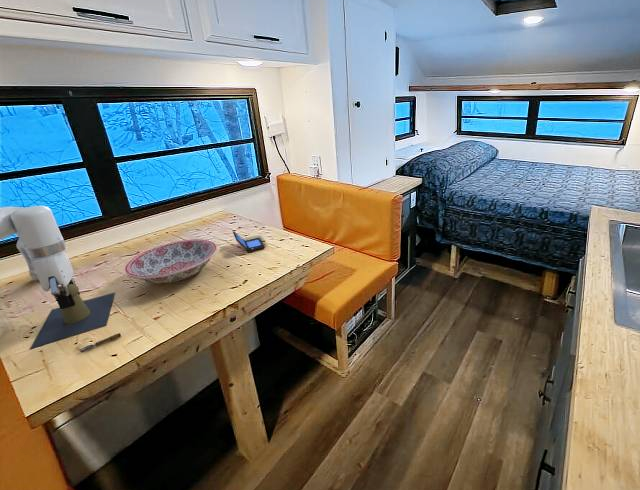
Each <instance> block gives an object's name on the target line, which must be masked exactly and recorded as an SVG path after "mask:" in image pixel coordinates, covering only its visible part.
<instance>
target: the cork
mask: <svg viewBox="0 0 640 490" xmlns="http://www.w3.org/2000/svg"><path fill="white" fill-rule="evenodd" d="M67 288H68V291H69V294H71V295H72V297H73V299H74V301H75V306H72V307H68V308H65V309H61V310H62V315H63V319H64V323H67V324H70V323H75V322H78V321H80V320H83V319H84V318H86V317H87V316H89V315H90V310H89V309H88V308H87V306H86V305H85V303H84V302H83V301H84V300H83V299H82V297H81V296H80V295H79V294H78V292H79V293H80V290H79V286H78V285H77V284H76V285H74V284H68V285H67ZM59 290H60V291H61V290H62V291H64V289H63V288H61V289H59Z"/></svg>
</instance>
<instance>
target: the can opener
mask: <svg viewBox="0 0 640 490" xmlns="http://www.w3.org/2000/svg"><path fill="white" fill-rule="evenodd" d="M120 337H122V335H121V333H120V332H118V333H116V334H112V335H110V336H108V337H106V338H104V339H101V340H99V341H96V342H95V343H94V344H88V345H86V346H84V347H81V348H80V349H78V350H77V351H78V352H79V351H80V352H81V353H84V352H85V351H86V350H90V349H92V348H93V347H98V346H101V345H103V344H105V343H108V342H112V341H114V340H117V339H118V338H119V339H120Z"/></svg>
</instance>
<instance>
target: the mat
mask: <svg viewBox="0 0 640 490" xmlns="http://www.w3.org/2000/svg"><path fill="white" fill-rule="evenodd" d="M115 296H116V292H111V293H108V294H103V295H100V296H97V297H93V298H88V299H85V300H83V302H84V303H85V305H86V306H87V308H88V309H89V310H90V315H89V316H87V317H86V318H84V319H83V320H80V321H78V322H75V323H70V324H67V323H64V319H63V315H62V310H61V309H60V307H56V308H53V309H51V310H50V311H49V314H48V316H47V317H46V318H45V321H44V322H43V325H42V326H41V328H40V330H39V331H38V333H37V335H36V337H35V338H34V340H33V342H32V343H31V346H30V347H29V350H33V349H35V348H38V347H39V348H40V347H42V346H45V345H49V344H52V343H55V342H58V341H62V340H64V339H68V338H71V337H74V336H78V335H80V334H84V333H86V332H90V331H94V330H97V329H99V328H102V327H106V326H107V324H108V322H109V321H108V320H109V317H110V314H111V310H112V306H113V304H114V299H115Z"/></svg>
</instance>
